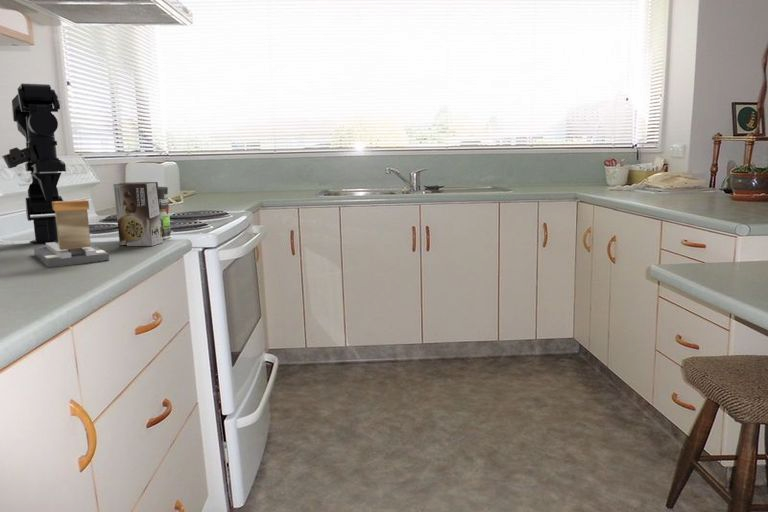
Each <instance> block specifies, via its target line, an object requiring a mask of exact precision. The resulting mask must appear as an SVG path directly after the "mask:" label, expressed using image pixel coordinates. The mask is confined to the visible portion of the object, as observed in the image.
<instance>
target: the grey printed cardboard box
mask: <svg viewBox="0 0 768 512" xmlns="http://www.w3.org/2000/svg"><path fill="white" fill-rule="evenodd" d="M112 186H113V191H114V201H115V210H116V211H115V212H116V221H117V228H118V229H117V231H118V241H119V246H120V245H127V246H126V247H153V246H157V245H160V244H162V243H163V242H164V239H162V228H161V216H160V204H159V193H158V187H159V184H158V181H137V182H135V181H133V182H132V181H130V182H120V183H119V182H118V183H113V185H112Z"/></svg>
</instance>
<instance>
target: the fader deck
mask: <svg viewBox="0 0 768 512" xmlns="http://www.w3.org/2000/svg"><path fill="white" fill-rule="evenodd" d="M82 249H83V253H81V254H72V255H71V253H70V252H69V251H68V249H65V250H60V249H59V244H58V242H51V243H45V246H44V247H34V248H33V251H34V256H36V257H37V258H38V259H39V260H40V261H41V262H42V263H43V264H44V265H45V266H46V267H48V268H54V267H63V266H72V265H73V266H74V265H81V264H90V262H92V263H99V262H98V261H100V262H106V261H105V260H109V261H110V254H109V252H107V251H105V250H103V249H101V248H100V247H97V246H95V245H94V244H92V243H91V247H85V248H82Z"/></svg>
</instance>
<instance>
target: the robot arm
mask: <svg viewBox="0 0 768 512" xmlns="http://www.w3.org/2000/svg"><path fill="white" fill-rule="evenodd" d="M60 104H61V103H60V101H59V96H58V94H57V93H56V91H55V89H53V88H52V87H51V84H39V83H38V84H37V83H21V84H20V85H19V86H18V88H17V94H16V95H15V96H14V97H13V99H12V100H11V107H12V108H11V109H12V120H13V122H15V123H16V127H17V130H18V132H19V133H20V134H21V135H22V136H23V137H24V138H25V146H26V147H24V148H22V149H20V148H19V147H13V148H11V149H9V153H6V154H4V155H2V156H1V157H2V159H3V161H4V162H5V164H6V166H7V168H8V169H13V168H16V167H17V166H19V165H22V164H24V167H25V172H29V174H30V176H31V183H30V184H29V186H28V188H27V197H25V214H26V219H27V221H28V222H30V221H33V230H34V240H30V241H29V243H30V244H43V243H45V244H46V243H51V242H55V243H58V235H57V226H56V217H55V211H54V210H53V208H52V202H56V201H64V199H63V198H62V195H59V190H58V186H57V185H58V182H59V181H60V178H61V175H62V172H67V168H66V167H67V166H66V163H65V162H64V161H63V160H62V159H60V158H59V157H58V155H57V154H58V153H57V148H56V147H57V146H58V143H57V142H58V141H57V140H56V137H55V132H56V131H57V129H58V127H59V122H58V119H57V117H56V115H54V113H58V112H59V110H60V109H61V105H60Z"/></svg>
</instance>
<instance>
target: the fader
mask: <svg viewBox="0 0 768 512" xmlns="http://www.w3.org/2000/svg"><path fill="white" fill-rule="evenodd" d="M52 208H53V210H54V211H55V214H54V215H55V217H56V226H57V235H58V241H57V244H58V245H59V249H60V250H65V249H68V251H69V252H70V253H71V255H72V254H81V253H83V249H82V248H85V247H91V244H92V243H91V234H90V224H89V223H90V222H89V214H88V212H89V211H88V210H89V209H90V202H89V200H87V199H79V200H76V199H75V200H63V201H56V202H52Z"/></svg>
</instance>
